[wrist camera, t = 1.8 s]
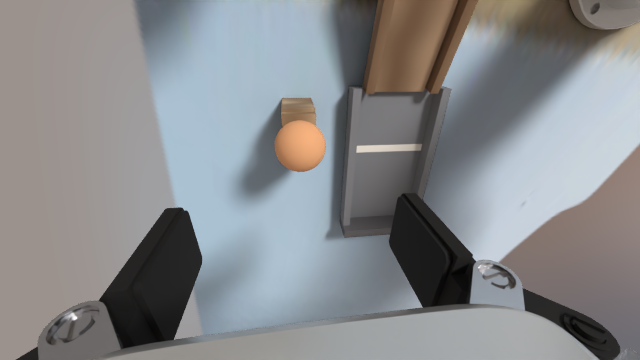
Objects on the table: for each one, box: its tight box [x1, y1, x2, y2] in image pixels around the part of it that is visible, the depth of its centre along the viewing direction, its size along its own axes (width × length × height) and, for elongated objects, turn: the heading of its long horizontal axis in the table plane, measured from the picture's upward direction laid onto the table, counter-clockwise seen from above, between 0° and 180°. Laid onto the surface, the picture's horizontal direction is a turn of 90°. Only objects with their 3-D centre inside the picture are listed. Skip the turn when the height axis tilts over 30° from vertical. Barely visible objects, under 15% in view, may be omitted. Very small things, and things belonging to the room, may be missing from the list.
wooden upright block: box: [281, 98, 316, 127], centre depth 23 cm, size 3×5×5 cm, turn 179°
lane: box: [340, 86, 451, 237], centre depth 27 cm, size 10×17×3 cm, turn 179°
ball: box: [275, 120, 326, 172], centre depth 19 cm, size 4×4×4 cm
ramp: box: [362, 0, 478, 94], centre depth 19 cm, size 7×12×6 cm, turn 179°
